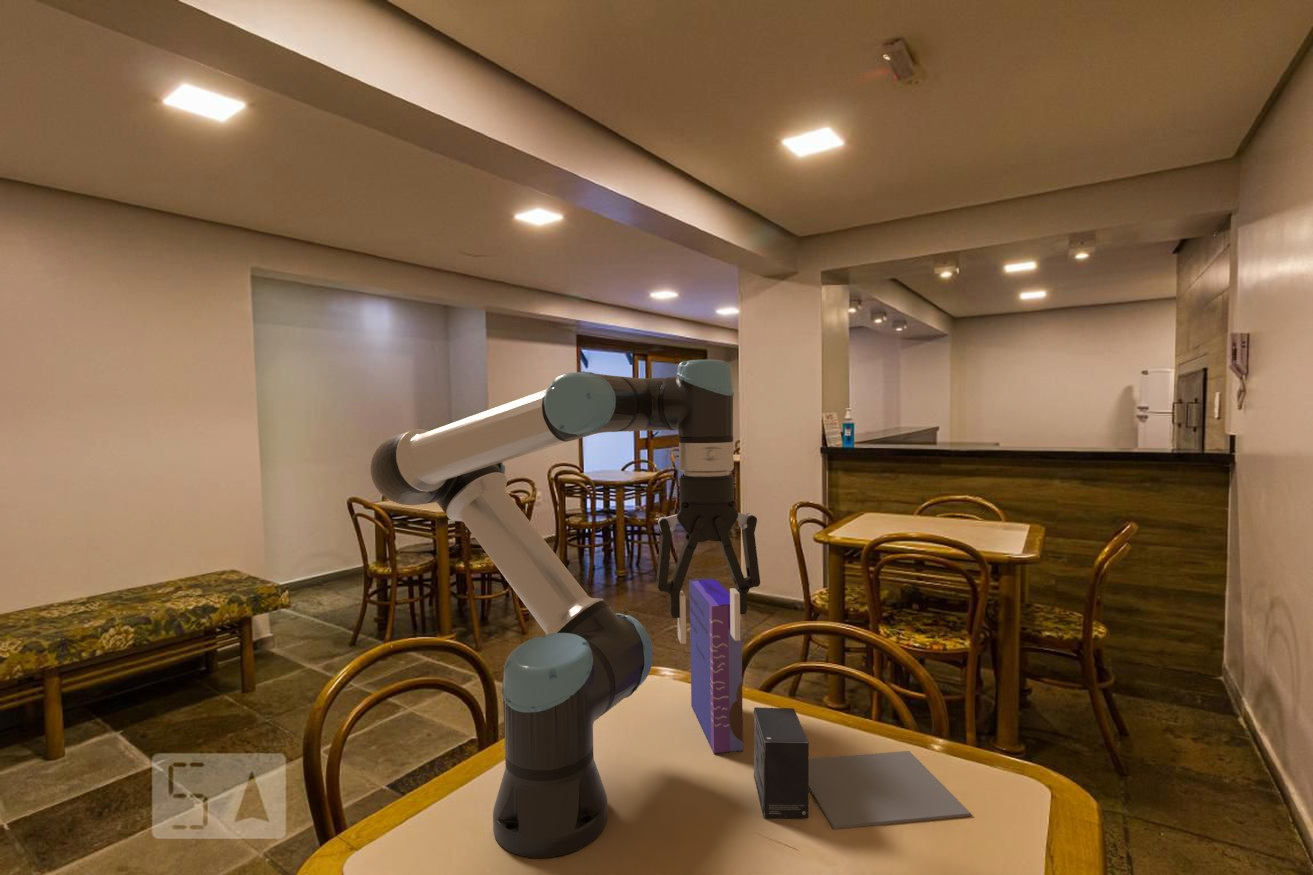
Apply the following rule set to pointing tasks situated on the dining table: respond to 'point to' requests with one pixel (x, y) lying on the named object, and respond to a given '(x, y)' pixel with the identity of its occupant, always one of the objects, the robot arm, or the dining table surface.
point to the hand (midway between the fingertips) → (708, 638)
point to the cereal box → (715, 667)
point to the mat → (879, 790)
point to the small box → (781, 763)
